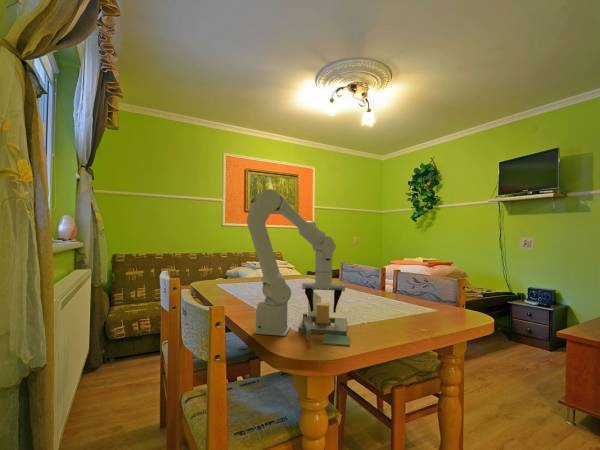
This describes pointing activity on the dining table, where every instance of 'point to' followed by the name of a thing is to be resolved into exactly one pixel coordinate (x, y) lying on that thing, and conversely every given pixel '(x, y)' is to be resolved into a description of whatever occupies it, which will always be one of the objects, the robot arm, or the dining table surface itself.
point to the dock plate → (337, 329)
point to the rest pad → (336, 340)
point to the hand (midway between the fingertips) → (323, 311)
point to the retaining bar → (306, 326)
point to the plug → (322, 314)
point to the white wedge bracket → (314, 305)
